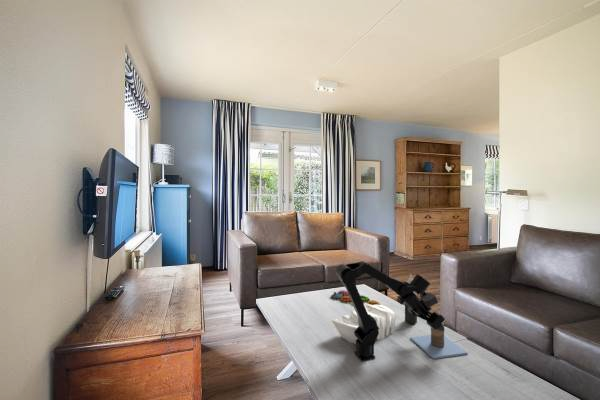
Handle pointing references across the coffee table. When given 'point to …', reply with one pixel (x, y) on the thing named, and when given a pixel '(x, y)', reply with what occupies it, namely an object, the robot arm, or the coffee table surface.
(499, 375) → the coffee table surface
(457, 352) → the blue mat
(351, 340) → the wavy white extrusion
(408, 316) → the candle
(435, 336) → the walnut pillar
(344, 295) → the gear puzzle
